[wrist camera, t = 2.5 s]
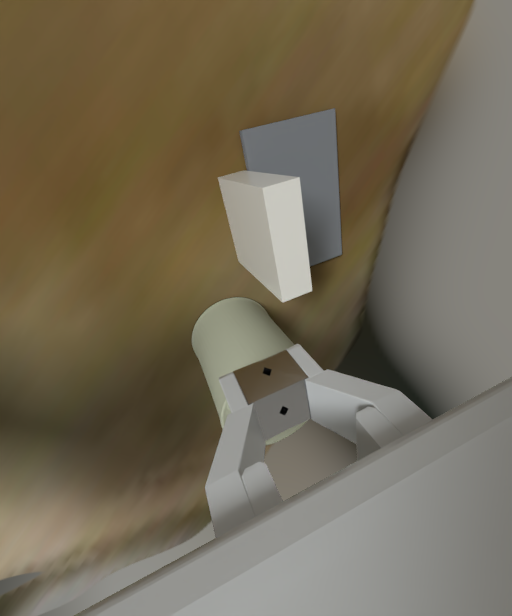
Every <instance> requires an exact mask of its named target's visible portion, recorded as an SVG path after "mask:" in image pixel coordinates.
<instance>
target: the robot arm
mask: <svg viewBox="0 0 512 616" xmlns="http://www.w3.org/2000/svg"><path fill="white" fill-rule="evenodd" d="M218 378H219V382H220V385H221V387H222V390H223V393H224V395H225V398H226V400H227V403H228V406H229V408H230V411H231V413H230V414H228V415H227V418H226V421H225V424H224V428H223V431H222V434H221V437H220V440H219V444H218V447H217V450H216V453H215V456H214V460H213V463H212V466H211V469H210V472H209V476H208V479H207V482H206V485H205V490H206V495H207V499H208V504H209V509H210V513H211V518H212V523H213V527H214V532H215V536H216V538H215V539H214V540H212V541H210V542H208V543H206V544H204V545H203V546H201V547H199V548H197V549H195V550H194V551H192V552H190V553H188V554H186V555H184V556H182V557H180V558H179V559H177V560H175V561H173V562H171V563H170V564H168V565H166V566H164V567H162V568H160V569H159V570H157V571H155V572H153V573H151V574H150V575H147V576H146V577H144V578H142V579H140V580H138V581H137V582H135V583H133V584H131V585H129V586H127V587H126V588H124V589H122V590H120V591H119V592H116V593H115V594H113V595H111V596H109V597H107V598H105V599H103V600H102V601H100V602H98V603H96V604H94V605H92V606H91V607H89V608H87V609H85V610H83V611H82V612H80V613H78V614H76V615H74V616H512V377H510V378H508V379H507V380H505V381H503V382H501V383H499V384H497V385H496V386H494V387H492V388H490V389H488V390H487V391H485V392H483V393H481V394H479V395H477V396H475V397H474V398H472V399H470V400H468V401H466V402H464V403H463V404H461V405H459V406H457V407H455V408H453V409H452V410H450V411H448V412H446V413H444V414H442V415H441V416H439V417H437V418H435V419H433V420H432V419H431V418H430V417H429V416H428V415H427V414H425V413H424V412H423V411H422V410H421V409H420V408H419V407H417V406H416V405H415V404H414V403H413V402H412V401H411V400H409V399H408V398H407V397H406V396H405V395H404V394H402V393H401V392H400V391H399V390H396V389H393V388H389V387H386V386H383V385H379V384H376V383H373V382H369V381H366V380H362V379H359V378H356V377H352V376H349V375H346V374H342V373H339V372H336V371H332V370H329V369H327V370H325V371H324V370H323V369H322V368H321V367H320V366H319V365H318V364H317V363H316V362H315V361H314V359H313V358H312V357H311V356H310V355H309V354H308V353H307V352H306V351H305V350H304V349H303V347H302V346H301V345H299V344H296V345H294V346H292V347H289V348H287V349H285V350H283V351H281V352H278V353H276V354H274V355H272V356H269V357H267V358H265V359H262V360H260V361H258V362H255V363H253V364H250V365H248V366H245V367H243V368H240V369H238V370H235V371H233V372H231V373H228V374H226V375H223V376H221V377H218ZM309 419H312V420H313V421H315V422H317V423H319V424H320V425H322V426H324V427H326V428H328V429H330V430H331V431H333V432H335V433H337V434H339V435H341V436H343V437H344V438H346V439H348V440H350V441H352V442H354V443H356V444H357V461H356V462H355V463H353V464H351V465H349V466H347V467H345V468H344V469H342V470H340V471H338V472H336V473H334V474H333V475H331V476H329V477H327V478H326V479H324V480H322V481H320V482H318V483H316V484H314V485H312V486H311V487H309V488H307V489H305V490H303V491H301V492H300V493H298V494H296V495H294V496H292V497H290V498H289V499H287V500H285V501H283V500H282V498H281V496H280V494H279V491H278V489H277V487H276V485H275V483H274V480H273V478H272V476H271V474H270V471H269V469H268V467H267V465H266V463H264V454H265V445H266V442H265V441H266V440H268V439H270V438H272V437H274V436H276V435H278V434H280V433H282V432H284V431H285V430H287V429H290V428H292V427H294V426H296V425H298V424H301V423H303V422H305V421H307V420H309Z"/></svg>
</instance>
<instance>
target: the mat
mask: <svg viewBox="0 0 512 616" xmlns="http://www.w3.org/2000/svg"><path fill="white" fill-rule="evenodd" d="M239 132H240V137H241V142H242V147H243V152H244V157H245V162H246V167H247V171H253V172H261V173H269V174H278V175H286V176H294V177H300V185H301V194H302V203H303V212H304V221H305V230H306V239H307V248H308V257H309V266H313V265H315V264H318V263H321V262H323V261H326V260H329V259H332V258H334V257H337V256H340V255H342V245H341V223H340V202H339V181H338V160H337V139H336V118H335V108H334V109H330V110H326V111H322V112H317V113H313V114H309V115H305V116H301V117H296V118H292V119H288V120H284V121H280V122H275V123H271V124H267V125H263V126H259V127H254V128H250V129H246V130H242V131H239Z"/></svg>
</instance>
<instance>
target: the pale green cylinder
mask: <svg viewBox="0 0 512 616" xmlns="http://www.w3.org/2000/svg"><path fill="white" fill-rule="evenodd" d="M192 346H193V350H194V352H195V354H196V356H197V357H198V359H199V362H200V364H201V367H202V369H203V372H204V375H205V378H206V380H207V383H208V386H209V389H210V391H211V394H212V397H213V400H214V403H215V406H216V409H217V412H218V414H219V418H220V422H221V427H222V429H223V428H224V424H225V421H226V418H227V415H228V414H230V413H231V411H230V408H229V406H228V403H227V400H226V398H225V395H224V393H223V390H222V387H221V385H220V382H219V378H218V377H221V376H223V375H226V374H228V373H231V372H233V371H235V370H238V369H240V368H243V367H245V366H248V365H250V364H253V363H255V362H258V361H260V360H262V359H265V358H267V357H269V356H272V355H274V354H276V353H278V352H281V351H283V350H285V349H287V348H289V347H292V346H294V344H293V342H292V341H291V340H290V339H289V338H288V337H287V336H286V335H285V334H284V333H283V331H282V330H281V329H280V328H279V327H278V326H277V325H276V324H275V322H274V321H273V320H272V319H271V318H270V317H269V315H268V313H267V312H266V310H265V309H264V308H263V307H262V306H261V305H260V304H259V303H257V302H256V301H254V300H251V299H248V298H242V297H234V298H228V299H224V300H222V301H219V302H217V303H215V304H214V305H212V306H211V307H209V308H208V309H207V310H206V311H205V312H204V313H203V314H202V315H201V316H200V317H199V319H198V320H197V322H196V324H195V326H194V329H193V333H192ZM307 421H308V420H307ZM307 421H305V422H303V423H301V424H298V425H296V426H294V427H292V428H290V429H287V430H285V431H284V432H282V433H280V434H278V435H276V436H274V437H272V438H270V439H268V440H266V441H265V442H266V445H269V444H273V443H276V442H278V441H280V440H282V439H284V438H286V437H288V436H290V435H291V434H293V433H294V432H296V431H297V430H298V429H299V428H300V427H302V426H303V425H304V424H305V423H306V422H307Z"/></svg>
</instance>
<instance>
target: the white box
mask: <svg viewBox="0 0 512 616" xmlns="http://www.w3.org/2000/svg"><path fill="white" fill-rule="evenodd" d="M218 180H219V184H220V188H221V192H222V196H223V200H224V204H225V208H226V213H227V217H228V221H229V225H230V229H231V233H232V237H233V241H234V245H235V249H236V253H237V257H238V261H239V262H240V263H241V264H242V265H243V266H244V267H245V268H246V269H247V270H248V271H249V272H250V273H251V274H252V275H254V276H255V277H256V278H257V279H258V280H259V281H260V282H261V283H262V284H263V285H264V286H265V287H266V288H267V289H269V290H270V291H271V292H272V293H273V294H274V295H275V296H276V297H277V298H278V299H279V300H280V301H281V302H285V301H288V300H291V299H293V298H296V297H298V296H301V295H303V294H306V293H308V292H311V291H312V283H311V274H310V266H309V257H308V248H307V239H306V230H305V221H304V212H303V203H302V194H301V185H300V177H294V176H286V175H278V174H269V173H261V172H253V171H245V170H244V171H240V172H237V173H233V174H229V175H226V176H222V177H218Z"/></svg>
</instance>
